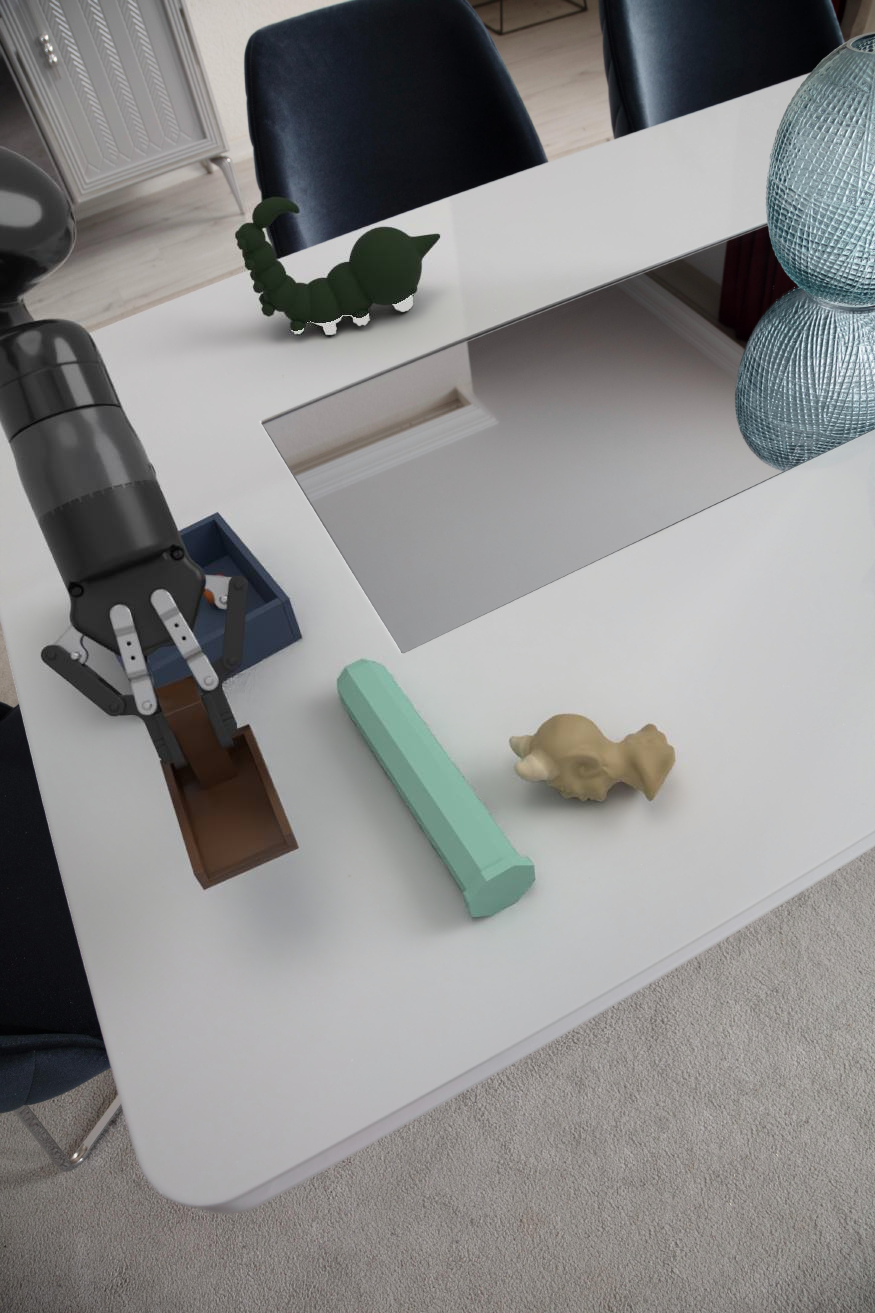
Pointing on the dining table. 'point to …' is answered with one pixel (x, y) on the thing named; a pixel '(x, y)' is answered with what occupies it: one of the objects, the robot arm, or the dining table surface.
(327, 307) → the toy figurine
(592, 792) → the tan toy creature
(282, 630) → the tote
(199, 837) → the scoop
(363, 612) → the dining table surface
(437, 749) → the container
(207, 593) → the toy ball
